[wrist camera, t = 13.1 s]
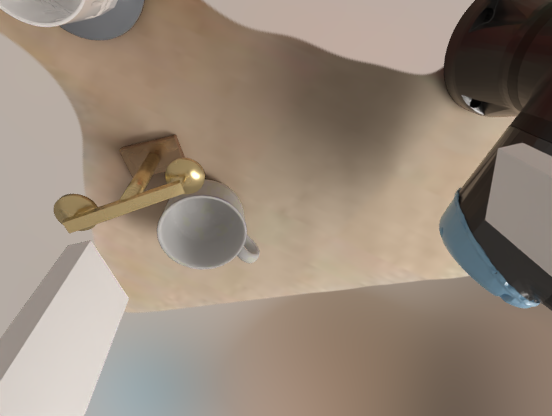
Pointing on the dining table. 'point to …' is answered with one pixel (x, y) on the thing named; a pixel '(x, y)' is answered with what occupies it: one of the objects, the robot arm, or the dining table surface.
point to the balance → (136, 184)
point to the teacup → (206, 228)
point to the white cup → (55, 10)
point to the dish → (108, 22)
